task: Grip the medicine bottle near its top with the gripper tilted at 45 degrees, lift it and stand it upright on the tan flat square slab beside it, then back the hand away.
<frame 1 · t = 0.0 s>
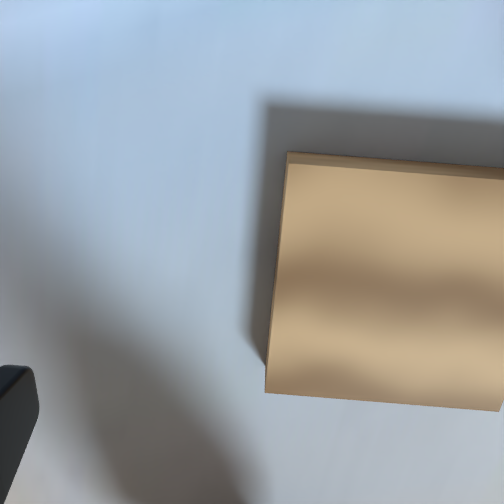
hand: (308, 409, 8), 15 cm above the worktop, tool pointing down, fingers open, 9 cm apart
tan flat square slab: (396, 281, 23), on the worktop
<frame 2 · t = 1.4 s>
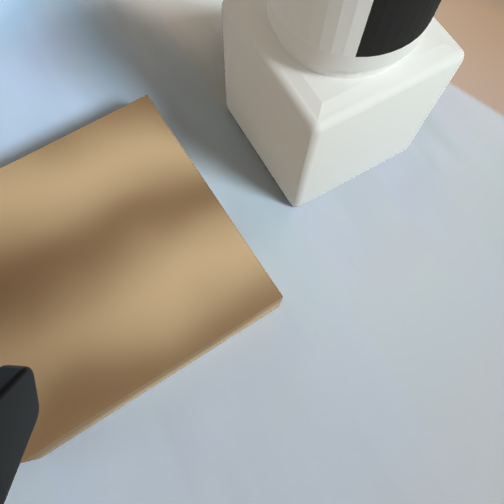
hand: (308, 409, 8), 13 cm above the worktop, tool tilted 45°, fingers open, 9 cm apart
tan flat square slab: (104, 267, 22), on the worktop
medicine bottle: (314, 130, 25), on the worktop
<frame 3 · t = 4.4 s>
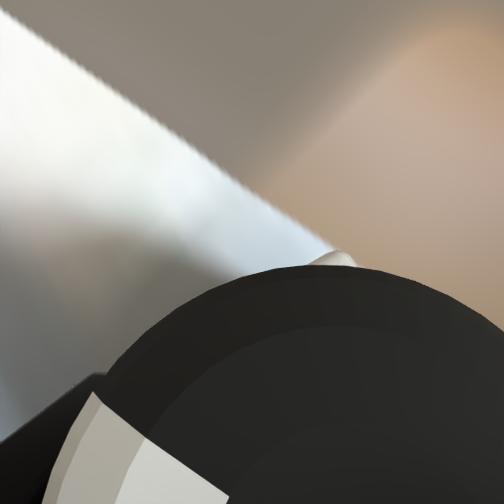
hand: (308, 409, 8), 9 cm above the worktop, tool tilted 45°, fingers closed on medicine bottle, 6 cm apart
medicine bottle: (271, 455, 15), on the worktop, touching gripper
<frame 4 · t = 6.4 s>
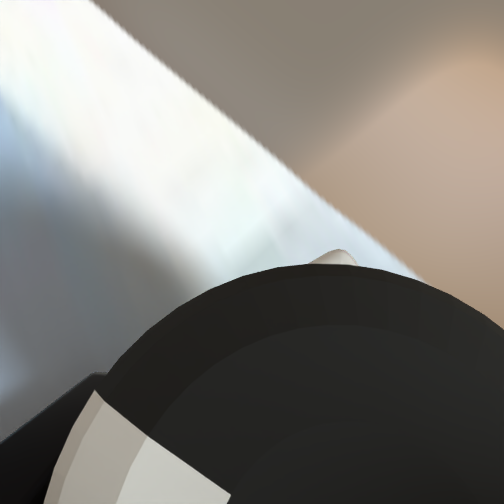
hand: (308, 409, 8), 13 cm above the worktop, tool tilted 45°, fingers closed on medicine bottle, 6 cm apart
medicine bottle: (272, 454, 15), point 4 cm above the worktop, touching gripper
when the fingers open (12 cm above the worktop, at t = 8.4 s): medicine bottle drops 1 cm, resting on tan flat square slab.
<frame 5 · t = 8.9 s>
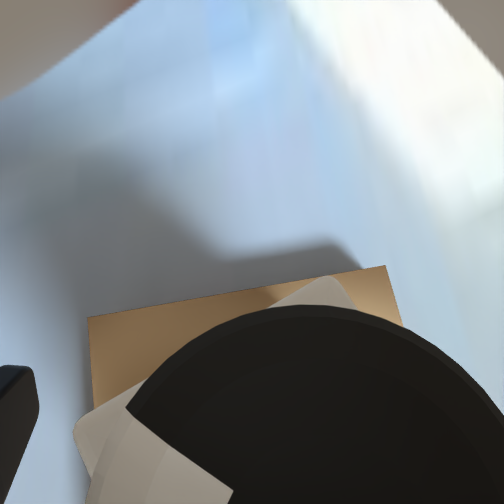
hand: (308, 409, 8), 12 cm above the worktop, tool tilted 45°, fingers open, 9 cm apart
tan flat square slab: (266, 447, 18), on the worktop
medicine bottle: (269, 456, 17), point 2 cm above the worktop, touching tan flat square slab
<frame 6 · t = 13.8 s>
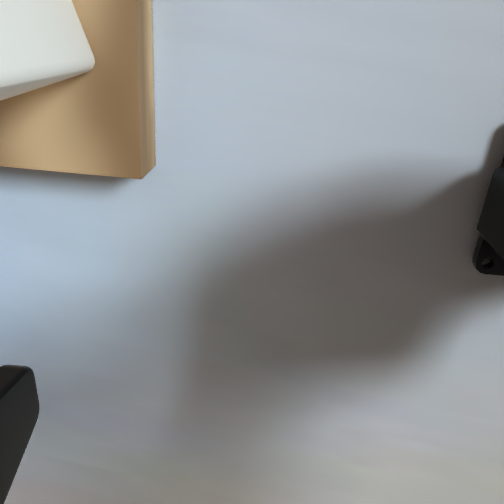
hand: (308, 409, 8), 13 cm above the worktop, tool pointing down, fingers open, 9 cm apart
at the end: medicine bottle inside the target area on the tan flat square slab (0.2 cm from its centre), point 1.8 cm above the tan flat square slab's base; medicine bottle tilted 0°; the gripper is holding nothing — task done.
